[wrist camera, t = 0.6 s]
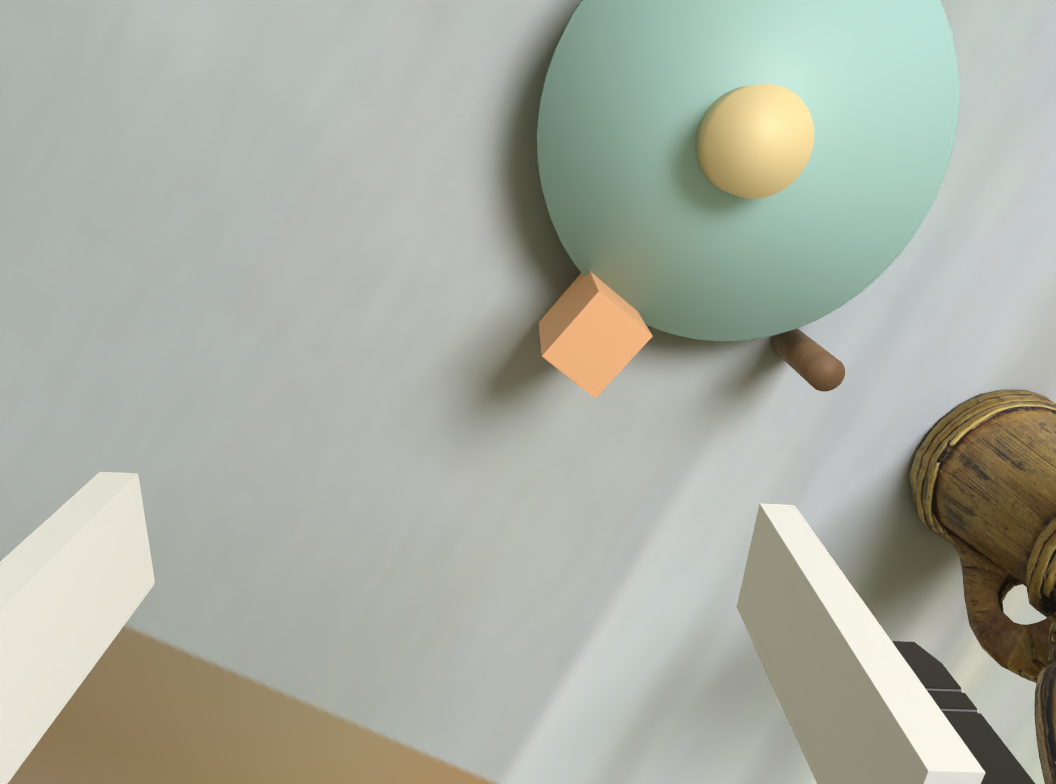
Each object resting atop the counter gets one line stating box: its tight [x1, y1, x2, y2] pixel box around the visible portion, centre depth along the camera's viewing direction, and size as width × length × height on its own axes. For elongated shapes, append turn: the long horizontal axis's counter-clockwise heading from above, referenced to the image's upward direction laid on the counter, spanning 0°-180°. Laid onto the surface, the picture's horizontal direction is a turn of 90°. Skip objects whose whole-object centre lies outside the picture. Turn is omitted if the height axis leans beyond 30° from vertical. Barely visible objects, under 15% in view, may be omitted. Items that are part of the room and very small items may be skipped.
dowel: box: [772, 328, 845, 391], centre depth 34 cm, size 2×2×5 cm
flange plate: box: [537, 0, 960, 398], centre depth 30 cm, size 18×21×5 cm
